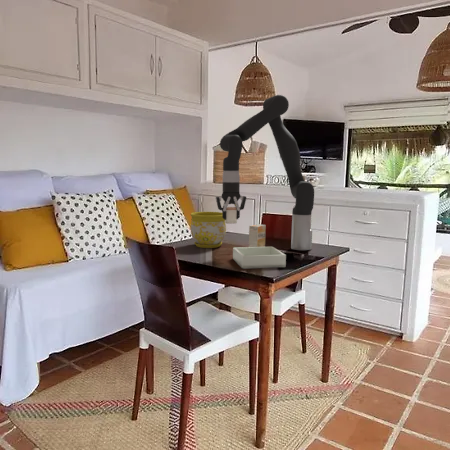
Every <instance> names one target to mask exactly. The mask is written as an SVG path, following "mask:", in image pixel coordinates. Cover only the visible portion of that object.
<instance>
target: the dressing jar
mask: <svg viewBox="0 0 450 450" xmlns="http://www.w3.org/2000/svg"><path fill="white" fill-rule="evenodd" d="M237 222H238V219H237V209H236V207H235V206H227V208H226V220H225V223H226V225H227V224H228V225H230V224H231V225H232V224H235V225H236V224H237Z"/></svg>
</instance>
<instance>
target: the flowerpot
mask: <svg viewBox="0 0 450 450" xmlns="http://www.w3.org/2000/svg"><path fill="white" fill-rule="evenodd" d="M190 217H191V224H190V234H191V238H192V239H193V241H194V242H193V244H195V246H196V248H202V249H203V248H204V249H215V248H219V247H221V246H222V244H223V240H224V239H225V236H226V233H227V232H226V231H227V223H225V220H224V219H223V217H222V211H196V212H191V213H190Z"/></svg>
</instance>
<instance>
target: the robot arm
mask: <svg viewBox="0 0 450 450" xmlns="http://www.w3.org/2000/svg"><path fill="white" fill-rule="evenodd" d="M289 106H290V105H289V100H288V99H287V97H286V96H285V95H283V94H276V95H273V96H271V97H268V98H266V99H265V100H264V101H263V104H262V110H261V111H259V112H258V113H256V114H254V115H252V116H251V117H250V118H248V119H246V120H245V121H244V122H243V123H241V124H240V125H239V126H238V127H237V128H235V129H232V130H231V131H229V132H228V133H226V134H225V135H223V136H222V138H221V139H220V142H219V147H220V149H221V150H222V151H224V152H228V153H227V156H226V157H224V158H223V162H222V194H221V195H220V196H215V201H216V205H217V210H219V211H221V212H222V217H223V219H224V220H226V208H227V207H229V205H234V207H236V209H237V220H239V218H240V215H241V211H243V210H244V209H245V206H246V201H247V196H245V195H241V194H240V186H241V185H240V184H241V183H240V181H241V179H240V178H241V177H240V176H241V175H240V159H241V155H242V152H243V146H244V145H243V144H244V143H243V142H246V141H248V140H249V139H250V138H253V136H254V135H255V134H257V133H258V132H259V131H260V130H261V129H262V128H264V127H265V126H266V125H269V127H270V129H271V133H272V135H273V139H274V141H275V144H276V146H277V151H278V154H279V156H280V160H281V161H282V165H283V167H284V171H285V174H286V176H287V180H288V183H289V184H288V185H289V188H290V192H291V196H292V197H293V198H294V199H295V205H294V207H293V208H292V211H291V212H292V215H291V220H292V221H291V242H290V248H291V250H296V251H308V250H312V249H313V248H312V247H313V246H312V245H313V230H312V229H311V228H312V213H313V209H314V203H315V187H314V186H313V184H312V183H311V182H309V181H305V178H304V176H303V173H302V170H301V153H300V152H301V151H300V149H299V146H298V142H297V140H296V139H295V137H294V136H293V134H291V132H290V131H289V130H288V129H287V128H286V126H285V125H284V122H283V120H282V117H281V116H282V115H284V114H286V113H287V111H288V110H289ZM222 200H223V201H224V202H223V206H222V204H221V201H222ZM239 200H241V202H240V205H239Z"/></svg>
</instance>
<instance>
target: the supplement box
mask: <svg viewBox="0 0 450 450" xmlns="http://www.w3.org/2000/svg"><path fill="white" fill-rule="evenodd" d="M266 229H267V227H266V224H259V223H258V224H253V225H249V226H248V247H266Z"/></svg>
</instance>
